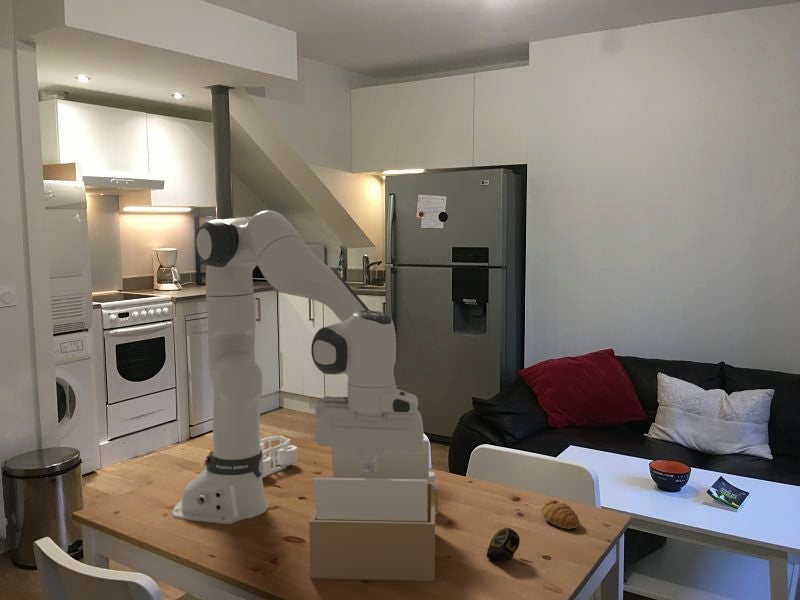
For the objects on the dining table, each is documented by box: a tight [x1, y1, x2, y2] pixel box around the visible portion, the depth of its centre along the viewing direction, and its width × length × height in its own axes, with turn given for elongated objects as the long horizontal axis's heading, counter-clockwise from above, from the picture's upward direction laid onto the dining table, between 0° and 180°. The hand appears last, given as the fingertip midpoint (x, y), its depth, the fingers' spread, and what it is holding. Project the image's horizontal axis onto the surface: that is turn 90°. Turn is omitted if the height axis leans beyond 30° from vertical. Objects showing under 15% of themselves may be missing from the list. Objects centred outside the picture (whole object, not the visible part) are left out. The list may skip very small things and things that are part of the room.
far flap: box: [330, 439, 430, 481], centre depth 150 cm, size 21×10×1 cm
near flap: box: [312, 476, 428, 521], centre depth 128 cm, size 21×10×1 cm
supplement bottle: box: [427, 470, 439, 516], centre depth 164 cm, size 5×5×10 cm
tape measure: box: [486, 527, 521, 562], centre depth 139 cm, size 7×7×4 cm
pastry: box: [540, 499, 581, 530], centre depth 158 cm, size 9×7×4 cm
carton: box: [308, 482, 436, 583], centre depth 142 cm, size 24×22×12 cm
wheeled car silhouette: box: [260, 434, 298, 479], centre depth 194 cm, size 20×11×7 cm, turn 149°
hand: (369, 470), depth 128 cm, fingers closed
